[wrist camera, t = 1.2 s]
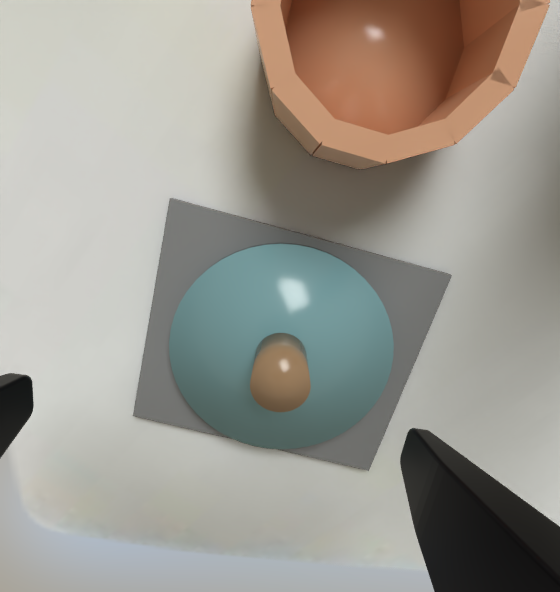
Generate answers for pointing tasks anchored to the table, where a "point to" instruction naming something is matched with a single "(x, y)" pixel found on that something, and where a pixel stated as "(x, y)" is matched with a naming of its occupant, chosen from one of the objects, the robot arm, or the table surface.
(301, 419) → the lid
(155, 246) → the table surface
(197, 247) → the mat
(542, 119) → the table surface
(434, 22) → the bowl
